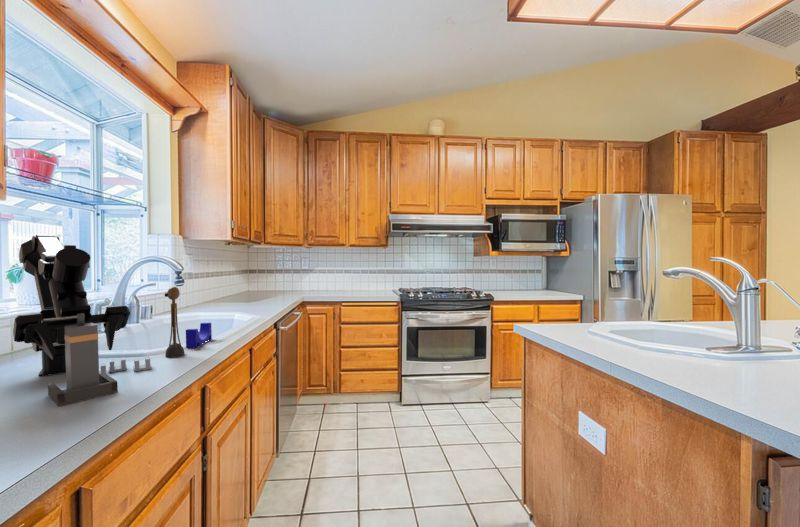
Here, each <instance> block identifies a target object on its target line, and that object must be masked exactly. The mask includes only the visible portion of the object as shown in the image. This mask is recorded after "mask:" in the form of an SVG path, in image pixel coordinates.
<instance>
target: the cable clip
mask: <svg viewBox="0 0 800 527" xmlns="http://www.w3.org/2000/svg"><path fill="white" fill-rule="evenodd" d="M212 331H213V330H212V322H200V325H199V328H187V329H185V349H186V348H188V349H197V348H199V347H201V346H203V345H202V343H205V341H208V340H210V341H212V340H211V339H212V336H213V334H212ZM208 342H209V341H208ZM205 344H206V343H205Z"/></svg>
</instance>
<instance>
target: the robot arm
mask: <svg viewBox="0 0 800 527" xmlns="http://www.w3.org/2000/svg"><path fill="white" fill-rule="evenodd" d="M60 241H61V240H60V236H58V235H55V234H36V235H32V237H31V239H29V240H28V241H25V242H24V243H22V244H20V248H19V253H18V260H19V261H18V262H19V263H20V264H23V270H24V272H26V273H28V274H30V275H31V276H32V277H34V282H35V285H36V291H37V296H38V300H39V304H40V310H41V311H40V312H39V313H30V314H29V313H28V314H19V315H17V316H16V317H14V319H13V320H14V322H13V328H12V329H13V330H12V332H13V341H14V342H16V343H22V342H24V344H31V345H32V346H31V347H32V350H33V351H34V352H41V370H40V371H39V372H38V377H43V376H44V377H45V376H53V375H58V374H64V373H65V374H66V355H65V338H64V334H65V327H64V326H68V325H76V324H77V314H84V317H85V323H94V324H96V325H100V324H102V325H103V327H104V330H103V333H104V334H105V338H106V344H107V346H106V347H107V348H108V350H109V351H112V349H113V345H114V340H115V334H116V332H118V331H120V330H121V329H124V328H125V327H126V326H127V324H128V321H129V317H130V315H131V311H130V308H129V307H128V306H127V305H124V304H121V305H113V306H112V305H111V306H106V308H105V311H104V313H98V314H92V312H91V309H92V308H91V305H90V304H89V302H88V298H87V296H88V294H87V291H85V287H84V284H83V281H85V280H86V278H87V274H88V270H89V269H90V261H91V255H90V254H89V253H88V252H86V251H85V250H83V249H80V248H77V245H74V244H73V245H72V244H64V245H63V243H61V242H60Z"/></svg>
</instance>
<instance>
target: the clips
mask: <svg viewBox="0 0 800 527" xmlns="http://www.w3.org/2000/svg"><path fill="white" fill-rule="evenodd" d="M133 361H134V362H133V363H134V364H133V366H132V367H133V372H134V373H136V372H135V371H137V372H142V371H141V370H143V371H147V370H148V369H149V370H152V365H151V358H150V355H149V356H145V357H144V364H140V358H139V357H134V359H133ZM126 363H127V361H126V357H125V356H124V357H120V365H115V358H110V359H109V366H108V370H106V369H107V368H106V367H107V366H106V365H107V364H106V362H101V363H100V370H99V374H101V373H105V374H107V375H108V373H109V374H110V372H112V373H117V372H116V371H118V372H123V371H122V370H124V371H127V370H128V368H127V364H126Z"/></svg>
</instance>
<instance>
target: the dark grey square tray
mask: <svg viewBox="0 0 800 527" xmlns="http://www.w3.org/2000/svg"><path fill="white" fill-rule="evenodd" d="M118 387H119V386H118V380H116V379H115V378H113V377H111V375H109V374H108V373H107V374H105V373H101V374H99V384H98V385H93V386H89V387H84V388H80V389H76V390H71V391H67V388H65V389H61V388H60V387H59V386H58V385H57V384H56V383H55V382H53V383H50V384H48V383H47V392H48V394H47V396H49V397H50V399H51V400H52V401H53V402H54V404H56V406H57V407H62V406H66V405H70V404H71V405H72V404H75V403H79V402H82V401H87V400H91V399H95V398H99V397H103V396H106V395H107V396H108V395H111V394H112V395H113V394H116V393H119V391H118ZM115 392H116V393H115Z"/></svg>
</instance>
